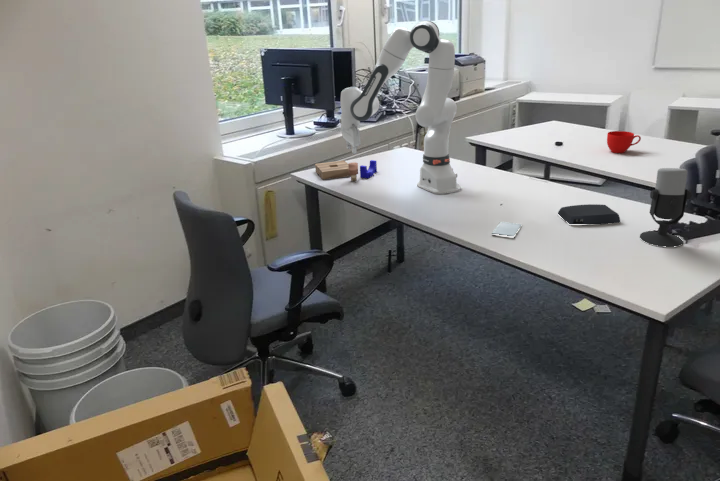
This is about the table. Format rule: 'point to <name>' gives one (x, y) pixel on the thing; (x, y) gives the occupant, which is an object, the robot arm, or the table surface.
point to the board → (333, 169)
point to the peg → (353, 170)
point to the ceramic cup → (620, 141)
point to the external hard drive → (589, 214)
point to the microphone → (667, 205)
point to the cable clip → (370, 172)
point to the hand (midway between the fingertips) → (351, 151)
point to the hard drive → (506, 228)
